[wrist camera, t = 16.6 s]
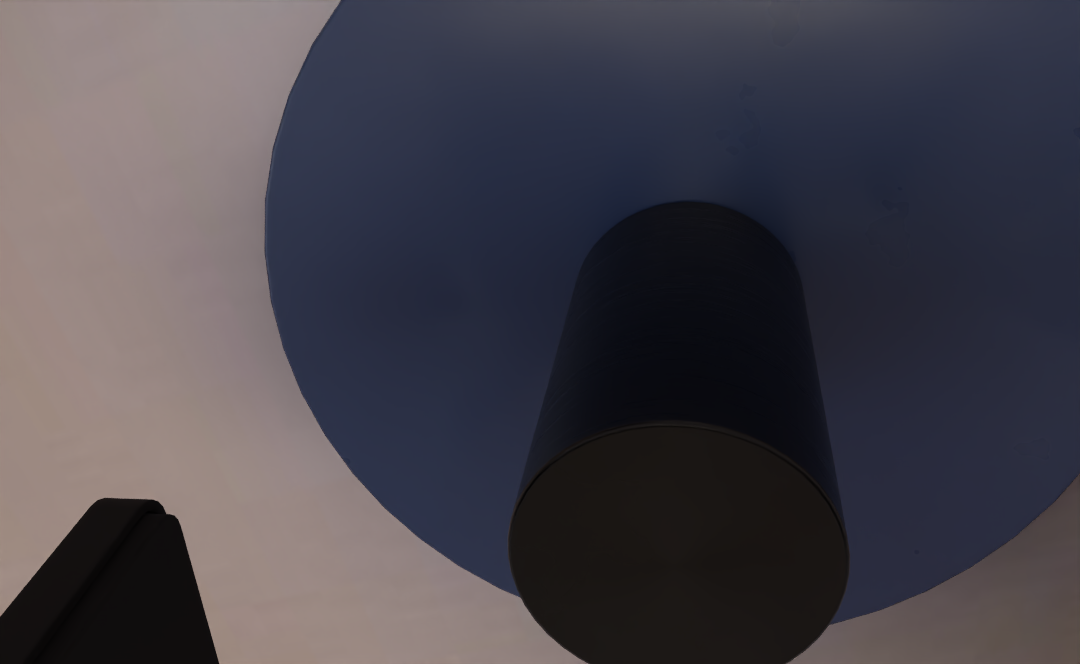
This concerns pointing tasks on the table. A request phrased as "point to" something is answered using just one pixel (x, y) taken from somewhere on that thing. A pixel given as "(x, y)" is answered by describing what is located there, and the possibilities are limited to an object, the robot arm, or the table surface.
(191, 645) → the robot arm
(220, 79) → the table surface
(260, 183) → the table surface
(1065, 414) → the blue pot lid
